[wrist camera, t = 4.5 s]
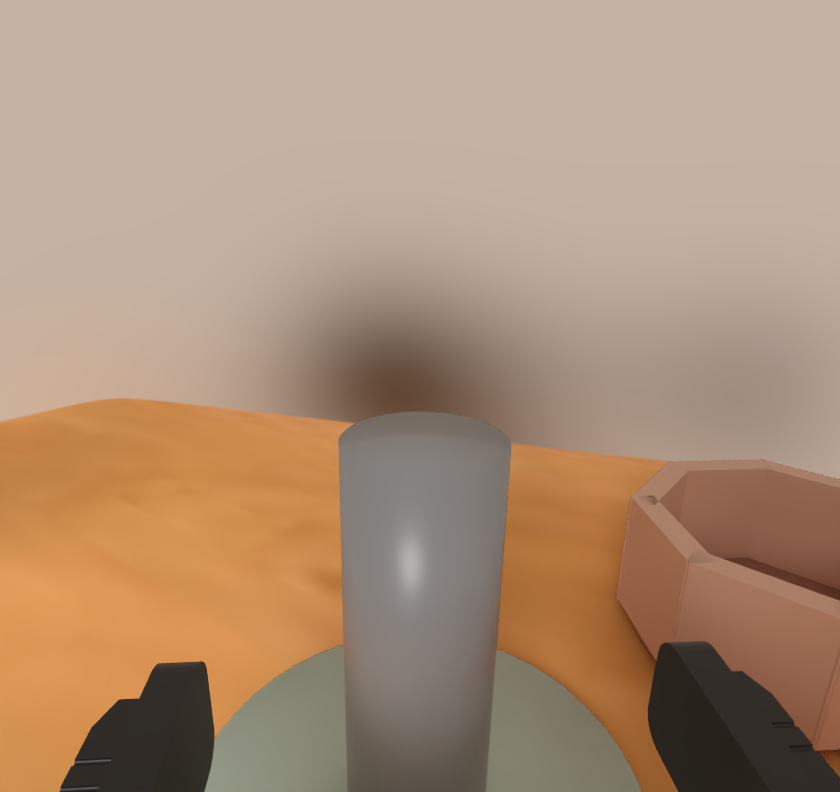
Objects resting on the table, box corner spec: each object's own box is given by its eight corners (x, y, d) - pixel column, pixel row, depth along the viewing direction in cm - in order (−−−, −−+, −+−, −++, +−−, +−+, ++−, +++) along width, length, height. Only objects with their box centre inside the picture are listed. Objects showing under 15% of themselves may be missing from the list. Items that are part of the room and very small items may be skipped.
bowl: (712, 768, 17) (745, 629, 16) (588, 561, 27) (600, 462, 26) (1034, 747, 18) (1096, 612, 17) (801, 554, 28) (826, 458, 26)
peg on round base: (80, 1213, 10) (-85, 668, 6) (232, 666, 21) (203, 366, 18) (772, 1119, 11) (953, 617, 7) (561, 648, 22) (594, 364, 19)
